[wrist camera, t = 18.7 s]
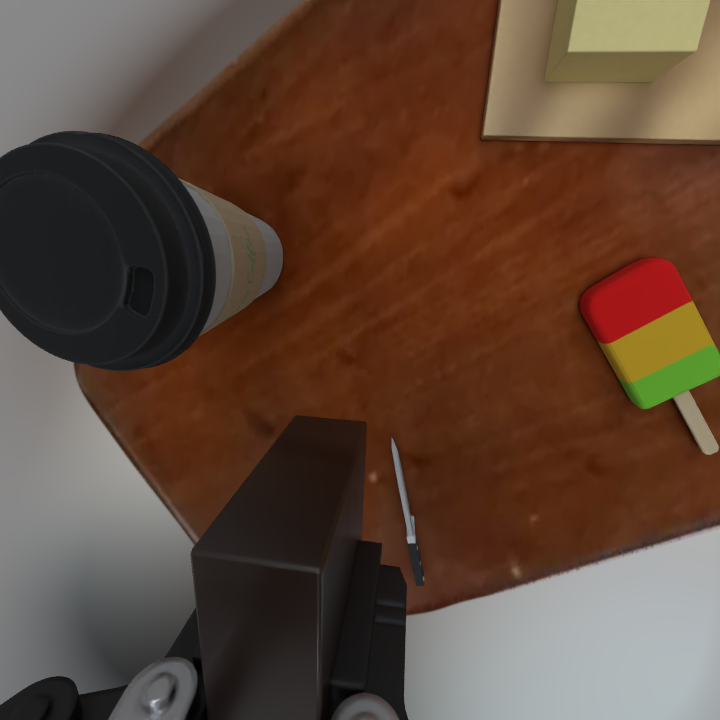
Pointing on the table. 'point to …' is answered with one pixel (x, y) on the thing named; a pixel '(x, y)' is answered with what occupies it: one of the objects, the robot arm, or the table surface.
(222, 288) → the coffee cup
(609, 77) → the butter stick
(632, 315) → the popsicle
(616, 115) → the board
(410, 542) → the knife
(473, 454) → the table surface
